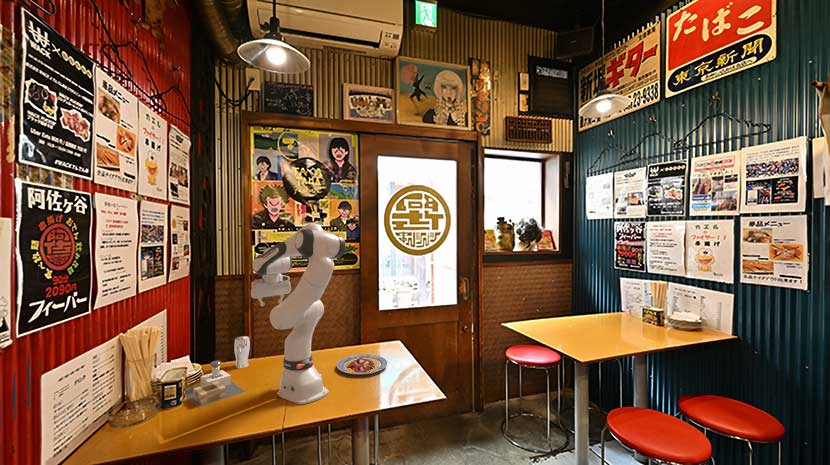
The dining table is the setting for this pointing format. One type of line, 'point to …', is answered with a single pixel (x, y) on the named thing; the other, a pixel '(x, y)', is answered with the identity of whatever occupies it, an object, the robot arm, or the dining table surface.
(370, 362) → the ceramic plate
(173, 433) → the dining table surface
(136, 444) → the dining table surface
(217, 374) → the steel pin
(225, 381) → the socket block
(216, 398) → the mount block
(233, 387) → the rubber mat
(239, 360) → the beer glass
